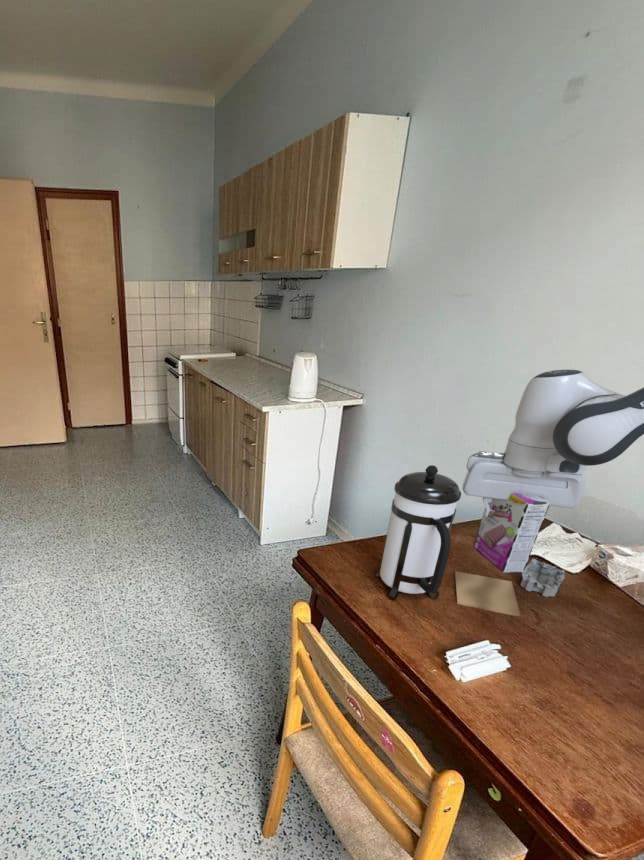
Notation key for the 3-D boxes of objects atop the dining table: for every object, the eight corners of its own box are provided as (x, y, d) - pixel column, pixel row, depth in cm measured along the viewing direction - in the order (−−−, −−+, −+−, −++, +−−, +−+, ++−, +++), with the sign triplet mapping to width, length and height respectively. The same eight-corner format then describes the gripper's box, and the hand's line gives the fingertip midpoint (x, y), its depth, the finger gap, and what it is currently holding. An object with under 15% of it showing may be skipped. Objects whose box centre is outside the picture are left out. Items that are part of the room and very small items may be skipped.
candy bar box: (470, 547, 108) (492, 481, 100) (491, 547, 108) (514, 480, 101) (501, 574, 98) (528, 502, 91) (524, 573, 99) (552, 501, 91)
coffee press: (356, 587, 111) (377, 466, 97) (391, 563, 120) (415, 449, 106) (429, 621, 100) (465, 490, 85) (461, 591, 109) (499, 468, 95)
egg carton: (553, 600, 105) (559, 585, 103) (515, 587, 110) (520, 572, 108) (564, 581, 112) (570, 566, 110) (528, 569, 116) (533, 555, 114)
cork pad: (511, 583, 111) (511, 581, 111) (519, 617, 100) (520, 615, 100) (454, 572, 116) (455, 571, 116) (456, 604, 105) (457, 602, 104)
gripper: (471, 454, 94) (455, 517, 100) (597, 467, 86) (570, 533, 93) (469, 445, 99) (454, 505, 105) (588, 457, 91) (563, 520, 98)
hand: (509, 519), depth 99 cm, fingers closed on candy bar box, 6 cm apart
